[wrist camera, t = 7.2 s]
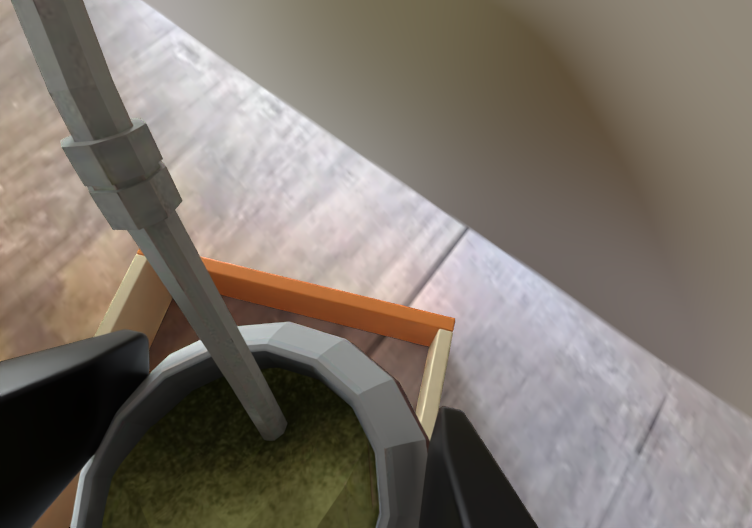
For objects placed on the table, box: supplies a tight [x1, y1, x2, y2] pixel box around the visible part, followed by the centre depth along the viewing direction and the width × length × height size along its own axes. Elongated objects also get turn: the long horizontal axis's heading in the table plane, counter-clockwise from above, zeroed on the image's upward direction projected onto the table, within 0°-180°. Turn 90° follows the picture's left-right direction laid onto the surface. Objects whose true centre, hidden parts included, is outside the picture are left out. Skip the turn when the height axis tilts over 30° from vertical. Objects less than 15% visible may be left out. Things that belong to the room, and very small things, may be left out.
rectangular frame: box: [32, 248, 455, 528], centre depth 19 cm, size 13×14×4 cm
